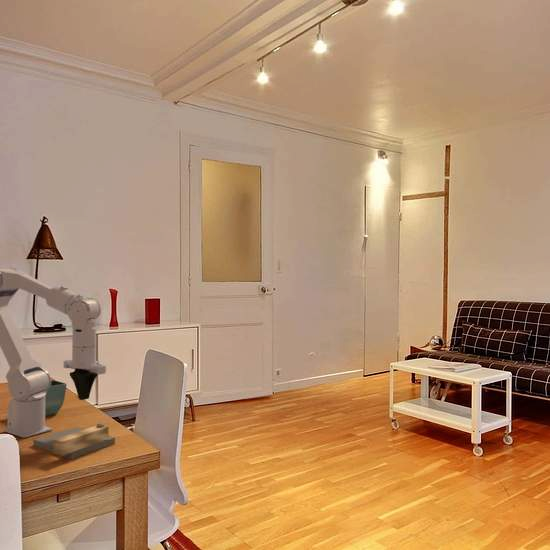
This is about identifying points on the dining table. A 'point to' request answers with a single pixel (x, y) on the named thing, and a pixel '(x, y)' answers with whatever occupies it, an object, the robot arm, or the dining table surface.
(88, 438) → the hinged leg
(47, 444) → the grey rectangular frame
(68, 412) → the dining table surface
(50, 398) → the flower pot
